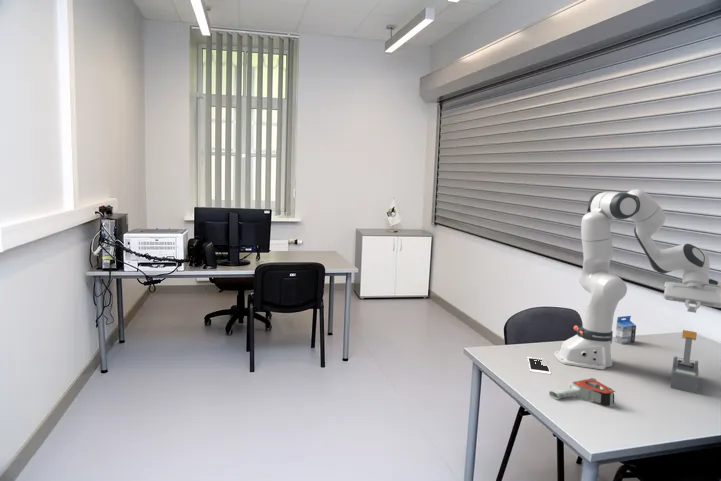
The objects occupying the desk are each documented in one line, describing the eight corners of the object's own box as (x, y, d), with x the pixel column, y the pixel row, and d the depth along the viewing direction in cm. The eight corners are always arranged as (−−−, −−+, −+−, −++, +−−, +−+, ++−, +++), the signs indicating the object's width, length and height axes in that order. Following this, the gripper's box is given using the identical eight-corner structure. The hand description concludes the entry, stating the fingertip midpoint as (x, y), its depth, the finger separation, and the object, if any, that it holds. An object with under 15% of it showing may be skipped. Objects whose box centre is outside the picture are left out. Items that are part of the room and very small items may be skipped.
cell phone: (529, 372, 186) (530, 370, 186) (527, 358, 201) (527, 356, 201) (551, 375, 184) (551, 373, 184) (546, 360, 199) (546, 359, 199)
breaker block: (671, 370, 192) (674, 349, 191) (695, 376, 188) (698, 354, 187) (670, 387, 176) (673, 364, 175) (696, 393, 172) (699, 370, 170)
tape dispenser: (547, 402, 164) (612, 416, 153) (547, 388, 163) (613, 401, 152) (557, 383, 178) (617, 394, 168) (557, 369, 178) (617, 380, 167)
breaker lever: (677, 365, 183) (681, 331, 187) (693, 368, 180) (697, 334, 184) (678, 364, 181) (682, 329, 185) (693, 367, 178) (697, 332, 182)
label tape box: (621, 344, 223) (624, 319, 222) (614, 341, 227) (617, 316, 225) (634, 342, 226) (637, 317, 225) (627, 339, 230) (630, 315, 228)
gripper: (665, 275, 199) (661, 302, 192) (726, 283, 188) (724, 311, 181) (664, 284, 203) (660, 310, 197) (724, 292, 192) (722, 320, 185)
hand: (691, 311), depth 189 cm, fingers closed
